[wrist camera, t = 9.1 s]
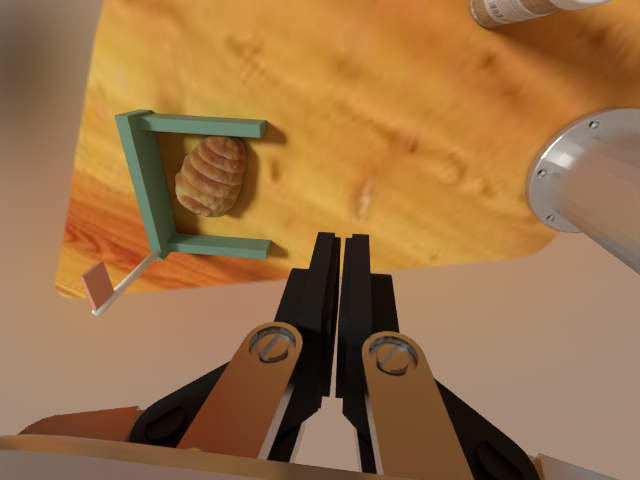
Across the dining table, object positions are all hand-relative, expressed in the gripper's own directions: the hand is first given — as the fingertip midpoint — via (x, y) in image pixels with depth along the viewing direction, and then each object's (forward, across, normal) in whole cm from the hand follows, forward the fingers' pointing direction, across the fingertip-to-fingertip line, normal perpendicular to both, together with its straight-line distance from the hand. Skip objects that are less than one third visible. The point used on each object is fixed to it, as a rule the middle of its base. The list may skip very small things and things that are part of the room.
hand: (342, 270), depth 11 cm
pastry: (+24, +16, +5) cm, 29 cm away
